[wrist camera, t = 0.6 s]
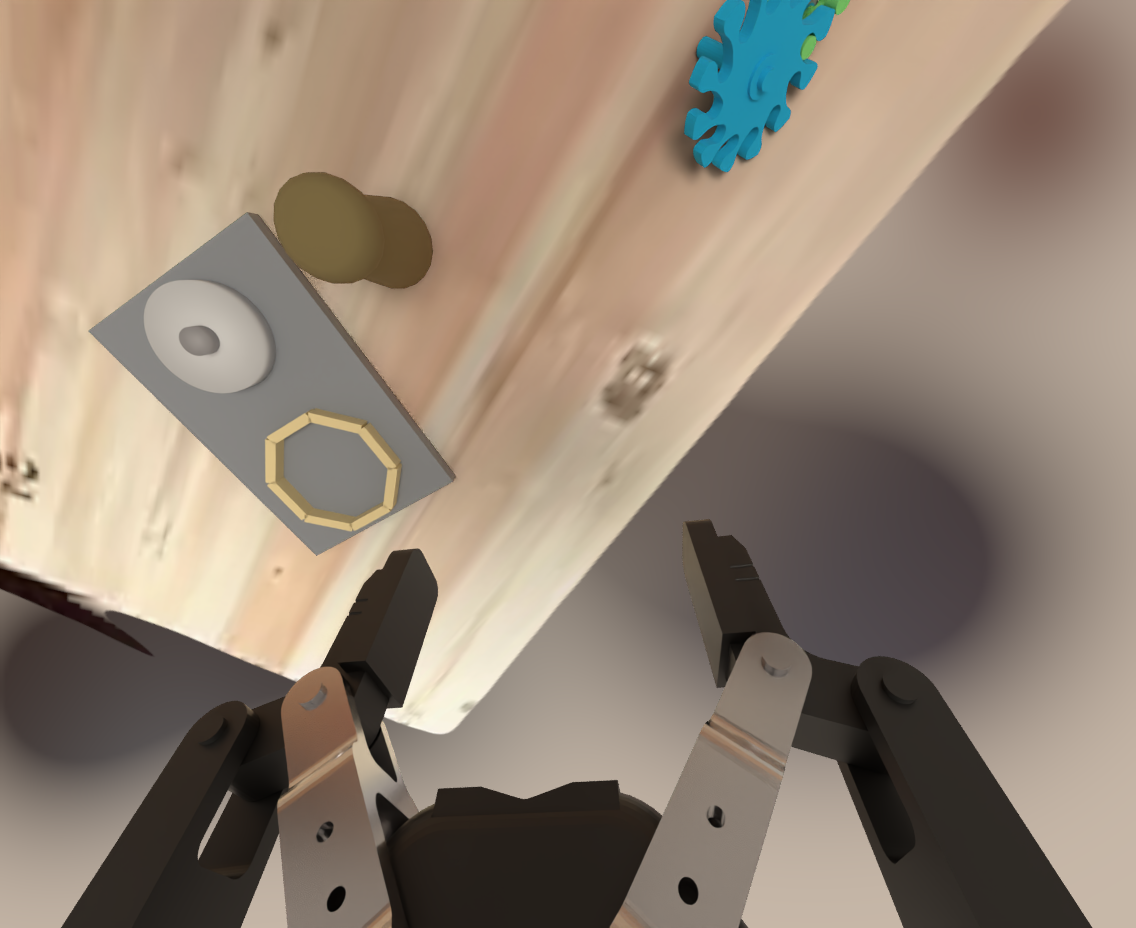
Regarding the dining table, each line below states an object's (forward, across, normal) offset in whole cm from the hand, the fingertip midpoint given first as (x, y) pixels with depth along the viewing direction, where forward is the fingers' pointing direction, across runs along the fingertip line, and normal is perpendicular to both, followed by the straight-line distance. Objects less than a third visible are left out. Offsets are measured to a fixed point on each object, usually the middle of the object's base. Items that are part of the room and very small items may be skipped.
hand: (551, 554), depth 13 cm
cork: (+26, +12, -7) cm, 29 cm away
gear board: (+23, +24, +3) cm, 33 cm away
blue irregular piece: (+29, -14, -12) cm, 34 cm away
